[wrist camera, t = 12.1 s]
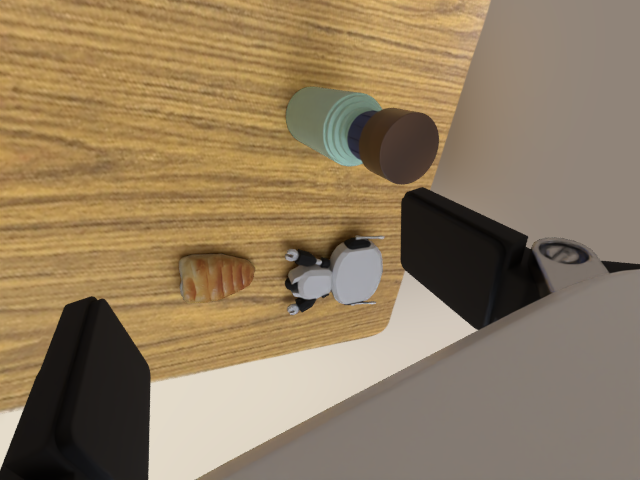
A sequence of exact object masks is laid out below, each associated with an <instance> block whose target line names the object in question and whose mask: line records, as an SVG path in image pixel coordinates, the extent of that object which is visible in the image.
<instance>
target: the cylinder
mask: <svg viewBox="0 0 640 480" xmlns="http://www.w3.org/2000/svg"><path fill="white" fill-rule="evenodd" d="M438 145H439V135H438V130H437V127H436V125H435V123H434V121H433V120H432V119H431V118H430V117H429V116H427V115H426V114H423V113H419V112H414V111H408V110H403V109H397V108H386V109H383V110H381V111H379V112H377V113H376V114H374V115H373V116H372V117H371V118H370V119H369V120H368V121H367V123H366V124H365V126H364V128H363V130H362V132H361V135H360V139H359V154H360V158H361V161H362V163H363V164H364V166H365V167H366V168H367V169H368V170H370V171H371V172H373V173H375V174H377V175H379V176H381V177H383V178H385V179H387V180H389V181H391V182H393V183H395V184H409V183H412V182H414V181H416V180H417V179H419V178H420V177H422V176H423V175H424V174H425V173H426V172H427V170H428V169H429V168H430V166H431V165H432V163H433V161H434V159H435V157H436V154H437V150H438Z"/></svg>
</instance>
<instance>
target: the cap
mask: <svg viewBox="0 0 640 480" xmlns="http://www.w3.org/2000/svg"><path fill="white" fill-rule="evenodd" d="M377 112H379V111H374V110H371V111H366V112H364V113H362V114H360V115H358V116H357V117H356V118H355V119H354V121H353V122H352V124H351V126H350V128H349V131H348V136H347V142H348V146H349V150H350V151H351V153H352V154H353V155H354V156H355V157H356V158H357V159H359V160H361V158H360V154H359V139H360V135H361V132H362V130H363V128H364V126H365V124H366V123H367V121H368V120H369V119H370V118H371V117H372V116H373V115H374V114H376V113H377Z"/></svg>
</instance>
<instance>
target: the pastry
mask: <svg viewBox="0 0 640 480" xmlns="http://www.w3.org/2000/svg"><path fill="white" fill-rule="evenodd" d="M179 271H180V276H181V279H182V281H181V284H180V292H181V295H182V297H183V300H184V301H185V302H186V303H188V304H191V303H207V302H210V301H217V300H220V299H223V298H225V297H228V296H229V295H232V294H234V293H236V292H238V291H240V290H242V289H244V288H245V287H247V286H249V285H250V283H251V282H252V280H253V277H254V272H255V267H254V266H253V265H252V264H251V263H250V262H249V261H248V260H247V259H241V258H236V257H233V256H227V255H224V254H202V255H199V254H196V255H189V256H186V257H183V258H181V259H180V261H179Z"/></svg>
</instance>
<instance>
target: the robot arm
mask: <svg viewBox="0 0 640 480" xmlns="http://www.w3.org/2000/svg"><path fill="white" fill-rule="evenodd" d="M527 239H528V236H526V235H524V234H522V233H520V232H518V231H516V230H513V229H511V228H509V227H507V226H505V225H503V224H500V223H498V222H496V221H494V220H492V219H490V218H488V217H486V216H484V215H481V214H479V213H477V212H475V211H473V210H471V209H469V208H466V207H464V206H462V205H460V204H458V203H456V202H454V201H451V200H449V199H447V198H445V197H443V196H441V195H439V194H436V193H434V192H432V191H430V190H428V189H426V188H423V187H421V188H418V189H415V190H412V191H409V192H407V193H406V194H405V196H404V198H403V199H402V202H401V264H402V267H403V268H404V269H405V270H406V271H407V272H408V273H409V274H410V275H412V276H413V277H414V278H415V279H416V280H418V281H419V282H420V283H421V284H422V285H424V286H425V287H426V288H427V289H428V290H430V291H431V292H432V293H433V294H434V295H436V296H437V297H438V298H439V299H440V300H441V301H443V302H444V303H445V304H446V305H447V306H449V307H450V308H451V309H452V310H454V311H455V312H456V313H457V314H458V315H460V316H461V317H462V318H463V319H464V320H465V321H467V322H468V323H469V324H470V325H471V326H473V327H474V328H475V329H478V331H476V332H474V333H472V334H471V335H468V336H466V337H465V338H463V339H461V340H459V341H457V342H455V343H453V344H451V345H449V346H447V347H445V348H443V349H441V350H439V351H437V352H435V353H434V354H432V355H430V356H428V357H426V358H424V359H422V360H420V361H418V362H416V363H415V364H413V365H411V366H409V367H407V368H405V369H403V370H401V371H399V372H398V373H395V374H393V375H391V376H390V377H388V378H386V379H384V380H382V381H380V382H378V383H376V384H374V385H372V386H371V387H369V388H367V389H365V390H363V391H361V392H359V393H357V394H355V395H353V396H351V397H350V398H348V399H346V400H344V401H342V402H340V403H338V404H336V405H334V406H332V407H330V408H329V409H327V410H325V411H323V412H321V413H319V414H317V415H315V416H313V417H312V418H310V419H308V420H306V421H304V422H302V423H301V424H299V425H297V426H295V427H293V428H291V429H289V430H287V431H285V432H283V433H281V434H279V435H278V436H276V437H274V438H272V439H270V440H268V441H266V442H264V443H263V444H261V445H259V446H257V447H255V448H253V449H252V450H249V451H247V452H245V453H244V454H242V455H240V456H238V457H236V458H234V459H232V460H230V461H228V462H227V463H225V464H223V465H221V466H219V467H217V468H216V469H214V470H212V471H210V472H208V473H207V474H205V475H203V476H201V477H199V478H198V479H196V480H640V264H630V263H619V262H609V261H600V259H599V258H598V257H597V255H596V254H595V253H594V252H593V251H592V250H591V249H590V248H588V247H587V246H585V245H583V244H581V243H578V242H576V241H572V240H568V239H564V238H544V239H539V240H537V241H536V242H534V243H533V245H532V248H531V249H529V248H527V247H526V243H527ZM149 421H150V369H149V366H148V364H147V362H146V361H145V359H144V357H143V356H142V354H141V353H140V351H139V350H138V348H137V347H136V345H135V344H134V342H133V341H132V339H131V338H130V336H129V335H128V333H127V332H126V330H125V328H124V327H123V325H122V324H121V322H120V321H119V319H118V318H117V316H116V315H115V313H114V312H113V310H112V309H111V307H110V306H109V304H108V303H107V301H106V300H105V299H99V300H97V299H96V298H95V297H92V296H91V297H88V298H85V299H82V300H79V301H76V302H73V303H70V304H67V305H66V306H65V307H64V309H63V312H62V314H61V317H60V320H59V322H58V325H57V328H56V330H55V333H54V335H53V338H52V341H51V343H50V346H49V349H48V351H47V354H46V356H45V359H44V362H43V364H42V367H41V370H40V371H39V373H38V375H37V376H36V379H35V381H34V384H33V387H32V389H31V392H30V394H29V397H28V400H27V402H26V405H25V407H24V410H23V412H22V415H21V418H20V420H19V423H18V425H17V428H16V431H15V434H14V436H13V438H12V441H11V444H10V446H9V449H8V452H7V455H6V457H5V459H4V462H3V464H2V467H1V470H0V480H148V465H149V462H148V461H149Z"/></svg>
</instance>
